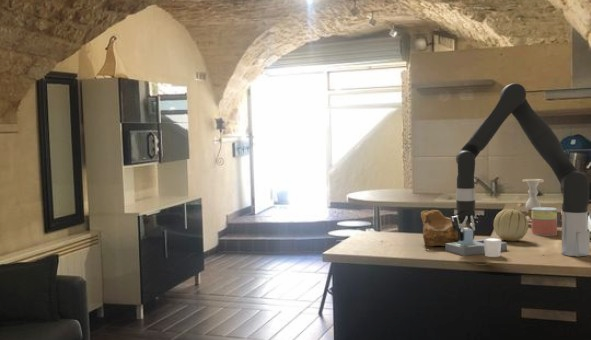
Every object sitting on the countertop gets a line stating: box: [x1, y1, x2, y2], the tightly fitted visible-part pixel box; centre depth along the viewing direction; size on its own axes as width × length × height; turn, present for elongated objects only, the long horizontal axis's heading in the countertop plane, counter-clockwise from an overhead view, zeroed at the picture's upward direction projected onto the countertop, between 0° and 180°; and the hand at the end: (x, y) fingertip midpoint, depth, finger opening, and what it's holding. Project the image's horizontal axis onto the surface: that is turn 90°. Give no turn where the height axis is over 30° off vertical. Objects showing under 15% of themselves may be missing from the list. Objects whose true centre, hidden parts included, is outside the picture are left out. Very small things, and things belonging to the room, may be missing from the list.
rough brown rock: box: [420, 209, 469, 248], centre depth 262 cm, size 23×17×15 cm
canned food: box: [531, 206, 558, 237], centre depth 285 cm, size 11×11×12 cm
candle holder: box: [521, 178, 545, 229], centre depth 306 cm, size 11×11×24 cm
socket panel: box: [444, 238, 508, 257], centre depth 249 cm, size 12×22×4 cm, turn 113°
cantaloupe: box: [493, 207, 529, 242], centre depth 269 cm, size 15×15×15 cm
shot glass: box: [482, 237, 502, 258], centre depth 238 cm, size 7×7×7 cm
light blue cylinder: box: [459, 227, 474, 246], centre depth 247 cm, size 4×4×10 cm
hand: (466, 239), depth 247 cm, fingers open, 4 cm apart
